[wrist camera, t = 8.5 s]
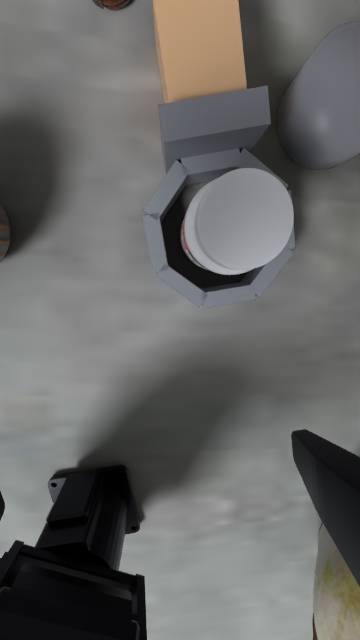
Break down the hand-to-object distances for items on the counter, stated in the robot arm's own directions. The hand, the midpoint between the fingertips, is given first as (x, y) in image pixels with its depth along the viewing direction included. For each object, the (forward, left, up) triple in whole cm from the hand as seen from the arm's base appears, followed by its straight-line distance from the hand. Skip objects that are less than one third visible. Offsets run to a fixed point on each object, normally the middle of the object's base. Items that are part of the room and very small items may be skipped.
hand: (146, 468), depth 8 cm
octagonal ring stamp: (+10, -5, -13) cm, 17 cm away
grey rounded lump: (+13, -13, -13) cm, 23 cm away
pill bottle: (+7, -5, -13) cm, 16 cm away
